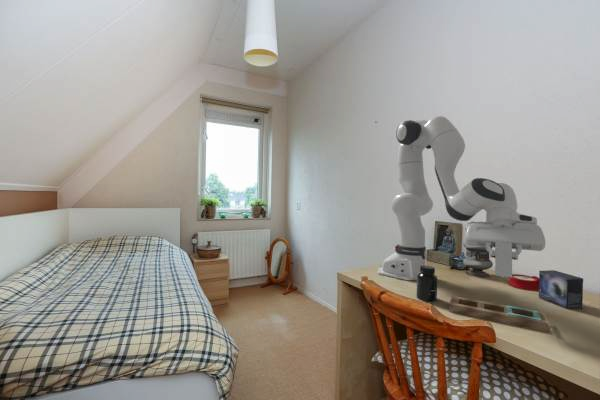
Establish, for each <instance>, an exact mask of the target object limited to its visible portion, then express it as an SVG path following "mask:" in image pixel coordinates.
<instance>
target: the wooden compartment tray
mask: <svg viewBox="0 0 600 400" xmlns="http://www.w3.org/2000/svg"><path fill="white" fill-rule="evenodd" d="M448 307H449V310H448V311H449V312H450V313H455V314H458V315H459V314H460V315H463V316H468V317H473V318H479V319H483V320H488V321H492V322H497V323H502V324H506V325H511V326H517V327H521V328H525V329H530V330H536V331H539V332H545V333H548V331H549V329H548V328H549V322H548V320H547V319H546V317H545V315H544V313H543V312H542V311H540V310H539V311H538V310H533V309H527V308H522V307H518V306H511V305H506V304H505V305H504V304H499V303H493V302H488V301H483V300H478V299H473V298H467V297H461V296H455V295H451V298H450V301H449V306H448Z"/></svg>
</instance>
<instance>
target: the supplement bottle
mask: <svg viewBox="0 0 600 400" xmlns="http://www.w3.org/2000/svg"><path fill="white" fill-rule="evenodd" d="M420 272H421V273H419V274H418V275H417V280H416V299H418V300H419V301H423V302H429V303H434V302H436V301H438V300H437V299H438V277H437V275H436V274H435V273H436V268H435V267H434V266H431V265H426V266H420Z"/></svg>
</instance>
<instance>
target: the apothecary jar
mask: <svg viewBox="0 0 600 400" xmlns="http://www.w3.org/2000/svg"><path fill="white" fill-rule="evenodd" d="M463 247H464V248H465V251H466V252H465V258H463V261H462V262H463V264H464V266H465V267H467V268H470V269H468V270H466V271H465V272H464V273H465V274H467V275H469V276H471V277H475V278H476V277H477V278H489V277H490V276H491V275H490V274H489V273H487V272H486V270H489V269H491V268H493V265H494V264H493V263H494V262H493V261H492V260H491V257H490V253H489V252H488V251H487V250H486V247H482V246H470V245H468V244H467V243H466V240H465V241H464V242H463ZM491 249H492V250H493V247H491Z"/></svg>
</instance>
